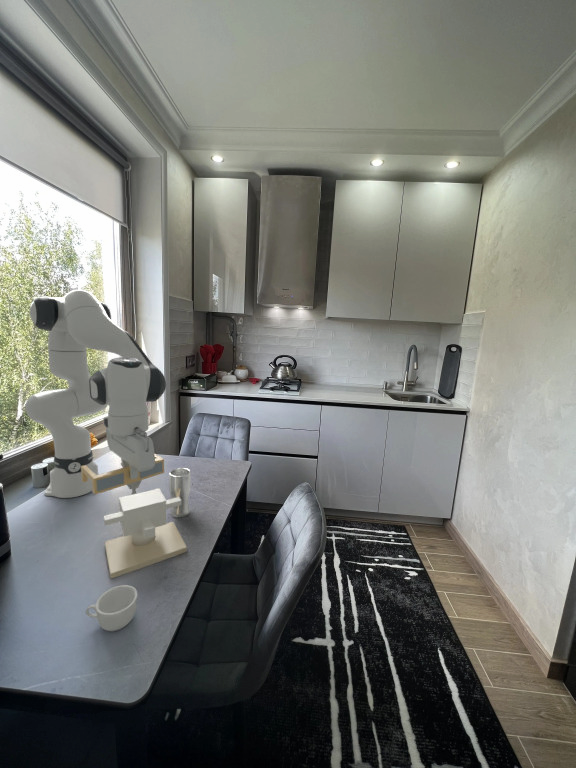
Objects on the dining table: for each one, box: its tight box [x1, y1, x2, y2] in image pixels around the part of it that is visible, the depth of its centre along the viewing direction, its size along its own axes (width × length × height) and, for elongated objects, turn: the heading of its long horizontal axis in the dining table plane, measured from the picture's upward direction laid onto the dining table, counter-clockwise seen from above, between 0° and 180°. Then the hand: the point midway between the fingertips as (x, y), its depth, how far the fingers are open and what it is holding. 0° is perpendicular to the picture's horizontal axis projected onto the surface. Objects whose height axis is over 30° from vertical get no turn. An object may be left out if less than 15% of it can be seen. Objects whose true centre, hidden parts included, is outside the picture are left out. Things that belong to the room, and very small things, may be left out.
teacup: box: [85, 584, 138, 632], centre depth 67 cm, size 10×8×5 cm
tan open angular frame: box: [81, 452, 165, 495], centre depth 82 cm, size 10×17×4 cm, turn 138°
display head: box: [103, 488, 188, 579], centre depth 88 cm, size 14×20×14 cm
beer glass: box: [168, 467, 192, 519], centre depth 106 cm, size 7×7×15 cm
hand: (131, 475), depth 80 cm, fingers closed on tan open angular frame, 2 cm apart
